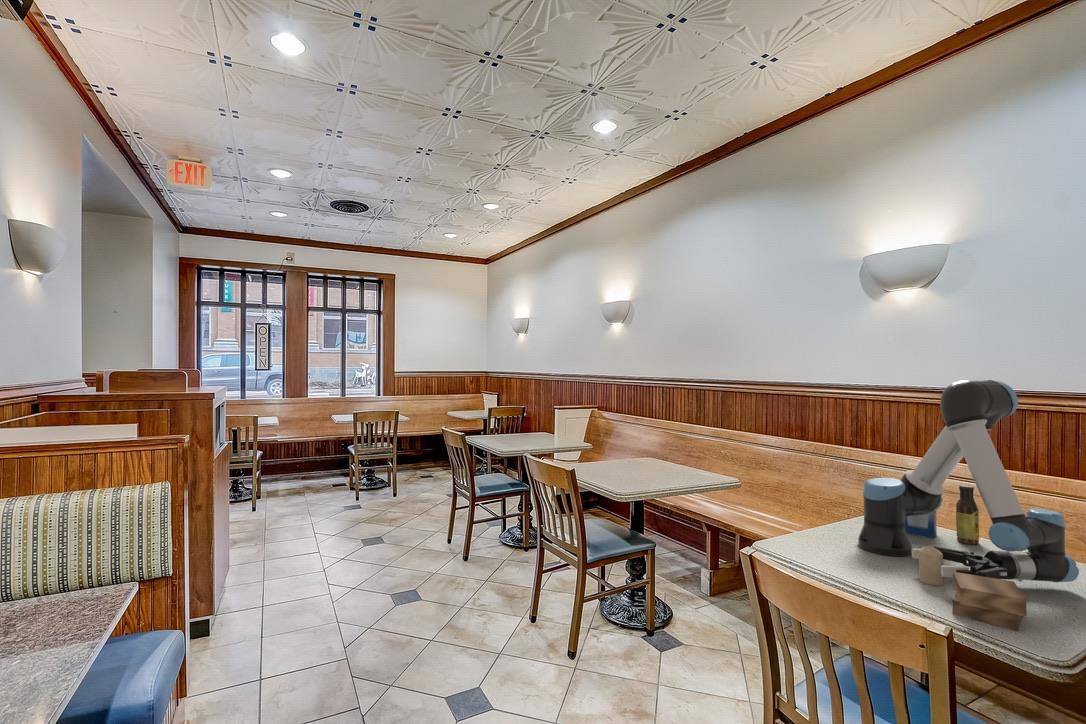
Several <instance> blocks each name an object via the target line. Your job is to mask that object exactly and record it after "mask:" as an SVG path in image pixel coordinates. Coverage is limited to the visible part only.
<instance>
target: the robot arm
mask: <svg viewBox="0 0 1086 724" xmlns="http://www.w3.org/2000/svg"><path fill="white" fill-rule="evenodd" d="M939 404H940V412H941V415H942V419H943V421H944V424H945V426H944V427H943V429H942V430H941V431H940V433H939V434H938V436H936V437H935V440H934V441H933V443H932V444H931V445H930V447H929V448H928V450H927V451H926V452H925V454H924V455H923V457H922V458H921V460H920V461H919V462H918V464H917V465H916V466H915V468H914V469H908V470H906V471H905V473H904V474H903V476H902V477H901V478H900V479H897V478H895V477H894V478H893V477H874V478H869V479H867V480H866V481H865V482H864V483H863V491H862V495H863V525H862V527H861V530H860V533H859V535H858V539H857V540H858V541H857V544H858V546H859V548H861V549H863V550H865V551H867V552H870V553H874V554H878V555H884V556H889V557H890V556H891V557H908V556H910V555H911V558H912V559H918V560H919V550H920V549H921V548H913V547H912V545H911V542H910V539H909V536H908V534H907V533H906V531H905V516H914V515H925V514H929V513H932V512H934V511H936V512H937V510H939V509H940V508H941V506H942V504H943V499H944V497H943V493H944V491H945V489H944V487H943V485H944V482H945V481H946V480H947V479H948V477H950V475H951V474H952V472H953V471H954V469H955V468H956V467H957V466H958V465H959V463H960V461H961V460H962V459H963V458H964V460H965V462H966V464H967V466H968V470H969V471H970V473H971V476H972V478H973V481H974V484H975V486H976V488H977V490H978V493H979V495H980V497H981V499H982V502H983V503H984V504H983V505H984V506H985V509H986V511H987V514H988V516H989V518H990V521H991V523H992V525H991V526H990V527H989V529H988V538H989V540H990V542H991V543H992V544H993V545H994V546H995V547H996V548H998V549H1000V550H989V551H987V552H986V553H985V554H984V556H983V555H981V554H975V552H973V551H966V550H965V551H964V550H958V549H951V548H945V547H939V546H933V547H934V548H936V549H937V550H939V551H940V552H941V553H942V554H943V561H944V560H945V561H950V562H953V563H954V562H955V563H960V564H962V565H961V566H959V565H943V566H942V565H941V576H943V577H947V578H948V577H951V578H953V572H958V573H965V574H971V575H977V576H983V577H989V578H995V579H1001V580H1007V581H1012V580H1013V581H1014V580H1016V581H1018V582H1019V583H1020V582H1023V581H1036V582H1037V581H1039V582H1050V583H1070V582H1075V580H1077V579H1078V576H1079V574H1080V569H1079V567H1078V566H1077V561H1076V560H1075V559H1074V558H1073V557H1072V556H1071V555H1069V554H1066V529H1067V528H1066V525H1065V518H1064V515H1063V514H1061V513H1060V512H1057V511H1053V510H1049V509H1043V508H1029V509H1028V510H1027V511H1026V514H1025V512H1024V509H1023V507H1022V505H1021V503H1020V500H1019V499H1018V496H1017V494H1016V492H1015V490H1014V487H1013V485H1012V482H1011V481H1010V479H1009V476H1008V474H1007V472H1006V470H1005V468H1004V465H1003V464H1002V460H1001V459H1000V457H999V456H1000V455H999V454H998V452H997V450H996V447H995V445H994V443H993V441H992V439H991V437H990V436H991V435H990V434H989V432H988V431H991V430H993V429H994V428H995V426H996V425H997V423H998V422H999V421H1000V420H1001V419H1004V418H1008V417H1009V416H1011V415H1012V414H1014V413H1015V412H1016V410H1017V408H1018V406H1019V398H1018V396H1017V393H1016V392H1015V389H1013V388H1012V387H1011V386H1010V385H1008V384H1007V383H1005V382H1003V381H1000V380H992V379H984V380H969V379H968V380H967V379H966V380H959V381H954V382H953V383H951V384H949V385H948V386H947V387H946V388H945V389H944V390H943V392H942V393H941V396H940V402H939ZM1026 550H1027V551H1026Z"/></svg>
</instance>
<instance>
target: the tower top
mask: <svg viewBox="0 0 1086 724" xmlns="http://www.w3.org/2000/svg"><path fill="white" fill-rule="evenodd" d="M952 578H953V589H954V591H955V595H956V594H957V596H958V599H959V601H960V604H962V605H968V606H973V607H978V608H984V609H989V610H994V611H999V612H1005V613H1010V614H1015V615H1021V616H1023V617H1026V618H1027V616H1028V614H1027V612H1028V609H1027V608H1028V607H1027V605H1028V604H1027V599H1026V596H1025V595H1024V594H1023V592H1022V590H1021V589H1020V588H1019V586H1018V585H1017V583H1015V581H1014V580H1007V579H995V578H989V577H983V576H977V575H971V574H965V573H958V572H953V577H952Z"/></svg>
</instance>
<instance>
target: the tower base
mask: <svg viewBox="0 0 1086 724" xmlns="http://www.w3.org/2000/svg"><path fill="white" fill-rule="evenodd" d="M951 602H952V603H951V604H952V605H951V606H952V607H951V609H952V615H955V616H960V617H963V618H967V619H969V618H970V620H973V619H974V621H977V622H981V623H984V624H988V625H992V626H994V627H1000V628H1002V629H1006V630H1008V631H1012V632H1016V633H1018V631H1019V629H1020V625H1021V623H1022V619H1023V617H1024V616H1021V615H1015V614H1010V613H1005V612H999V611H994V610H989V609H984V608H978V607H973V606H968V605H962V604H960V601H959V599H958V596H957V594H956V593H955V595H954V596H953V598H952V599H951Z"/></svg>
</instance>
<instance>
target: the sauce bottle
mask: <svg viewBox="0 0 1086 724" xmlns="http://www.w3.org/2000/svg"><path fill="white" fill-rule="evenodd" d="M958 490H959V499H958V500H957V502H956V504H955V506H956V507H955V509H956V510H955V520H956V521H955V522H956V523H955V524H956V528H955V529H956V538H957V539H956V540H957V541H958V542H960V543H962V544H966V545H979V542H980V516H979V515H980V514H979V508H978V506H977V503H976V501H975V499H974V491H975V487H974V486H972V485H966V484H959V486H958Z"/></svg>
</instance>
